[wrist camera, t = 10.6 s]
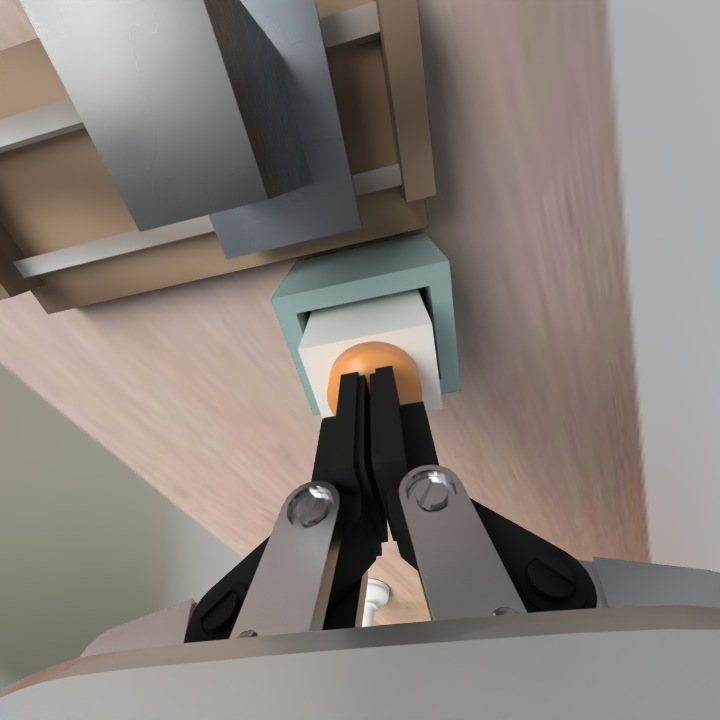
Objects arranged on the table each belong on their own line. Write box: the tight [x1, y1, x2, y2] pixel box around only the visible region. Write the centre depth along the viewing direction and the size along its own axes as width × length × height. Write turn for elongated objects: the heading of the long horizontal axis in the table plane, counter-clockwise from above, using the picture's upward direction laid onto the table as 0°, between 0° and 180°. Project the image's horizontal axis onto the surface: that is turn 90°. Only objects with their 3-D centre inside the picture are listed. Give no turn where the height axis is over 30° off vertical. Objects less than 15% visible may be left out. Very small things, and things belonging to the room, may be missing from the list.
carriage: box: [20, 0, 362, 259], centre depth 10 cm, size 8×6×8 cm
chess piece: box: [362, 578, 389, 627], centre depth 31 cm, size 5×5×10 cm
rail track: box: [0, 0, 436, 314], centre depth 15 cm, size 10×21×4 cm, turn 103°
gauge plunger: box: [298, 289, 443, 419], centre depth 14 cm, size 4×5×6 cm
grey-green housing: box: [271, 232, 461, 415], centre depth 17 cm, size 6×7×6 cm
